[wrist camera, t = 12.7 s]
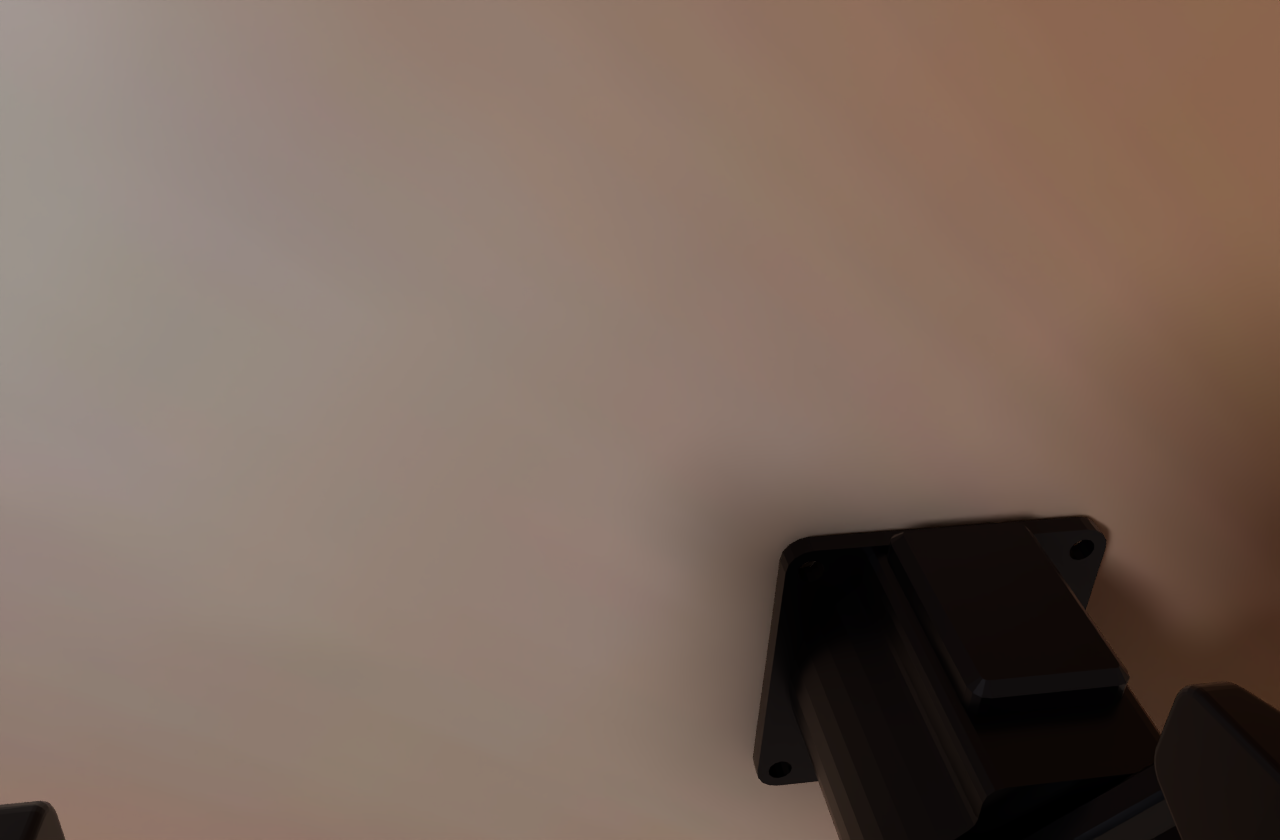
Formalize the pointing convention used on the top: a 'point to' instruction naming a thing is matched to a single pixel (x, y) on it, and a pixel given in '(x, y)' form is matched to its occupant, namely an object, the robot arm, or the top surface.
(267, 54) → the top surface
